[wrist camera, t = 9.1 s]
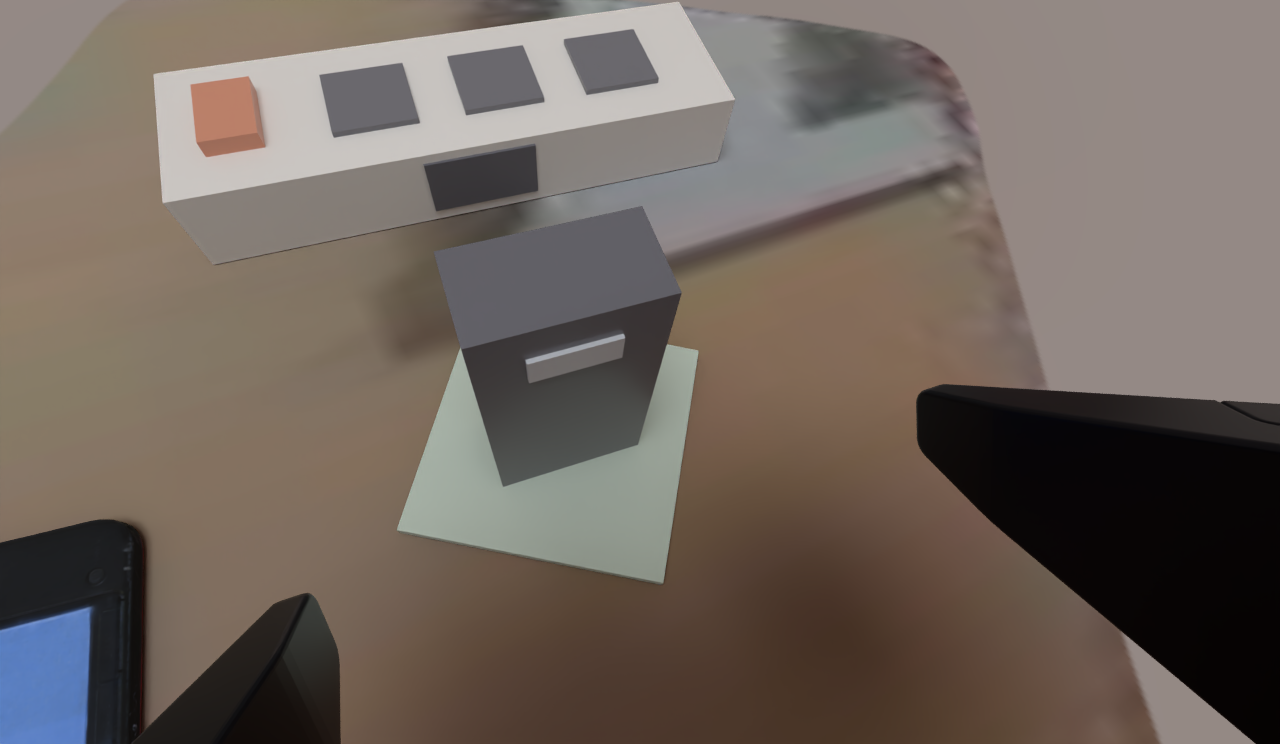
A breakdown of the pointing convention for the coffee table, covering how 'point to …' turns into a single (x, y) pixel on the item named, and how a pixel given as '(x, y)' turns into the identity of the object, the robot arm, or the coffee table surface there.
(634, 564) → the felt coaster
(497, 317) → the brick
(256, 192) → the power strip
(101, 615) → the handheld game console
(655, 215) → the coffee table surface
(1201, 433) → the robot arm
